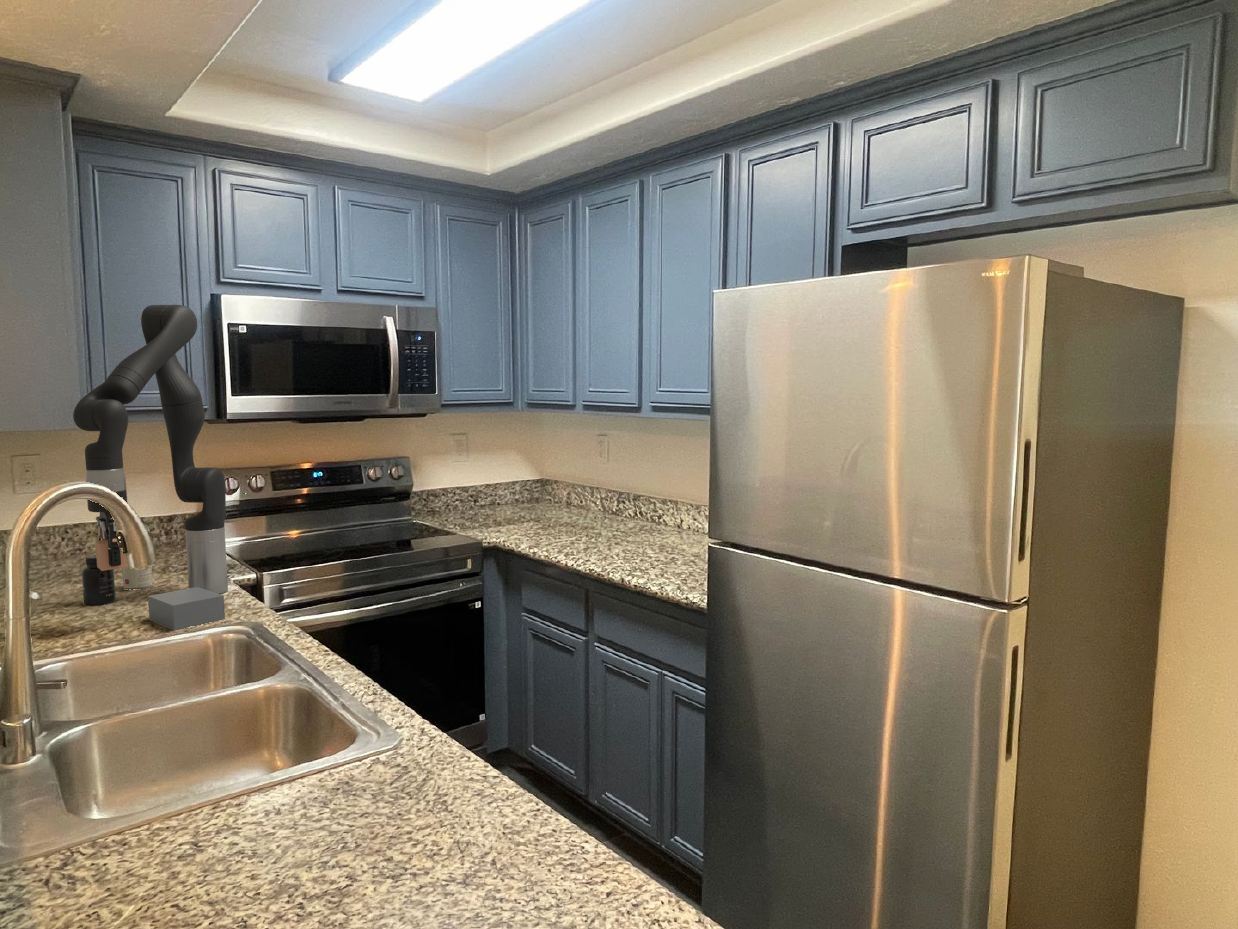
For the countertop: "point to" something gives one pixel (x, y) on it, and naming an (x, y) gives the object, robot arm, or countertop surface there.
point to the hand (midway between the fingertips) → (112, 563)
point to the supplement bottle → (97, 584)
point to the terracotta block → (103, 556)
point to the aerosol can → (137, 578)
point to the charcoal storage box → (186, 608)
